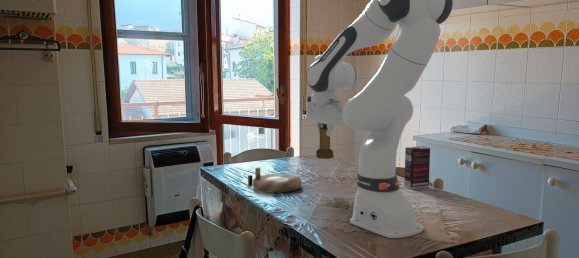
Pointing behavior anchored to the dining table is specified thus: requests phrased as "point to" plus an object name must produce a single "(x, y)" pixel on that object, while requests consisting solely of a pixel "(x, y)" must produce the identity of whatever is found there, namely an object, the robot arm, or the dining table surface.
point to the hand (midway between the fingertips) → (324, 135)
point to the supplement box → (417, 167)
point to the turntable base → (250, 180)
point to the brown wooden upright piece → (324, 145)
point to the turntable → (275, 182)
